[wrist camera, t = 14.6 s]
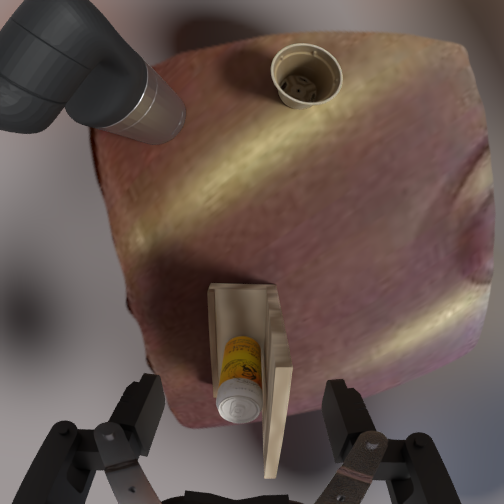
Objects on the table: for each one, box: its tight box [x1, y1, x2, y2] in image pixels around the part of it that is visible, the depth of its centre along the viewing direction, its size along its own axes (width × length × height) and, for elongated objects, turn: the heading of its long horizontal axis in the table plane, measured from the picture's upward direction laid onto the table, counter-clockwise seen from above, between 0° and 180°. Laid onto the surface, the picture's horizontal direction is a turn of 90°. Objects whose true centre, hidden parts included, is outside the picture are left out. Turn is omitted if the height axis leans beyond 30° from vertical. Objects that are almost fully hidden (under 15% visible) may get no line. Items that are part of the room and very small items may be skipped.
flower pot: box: [271, 43, 343, 110], centre depth 34 cm, size 9×9×9 cm
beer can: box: [216, 336, 263, 423], centre depth 39 cm, size 6×6×15 cm
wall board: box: [207, 283, 293, 479], centre depth 38 cm, size 11×22×22 cm, turn 179°
